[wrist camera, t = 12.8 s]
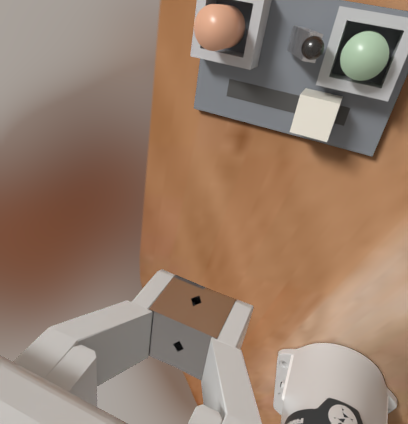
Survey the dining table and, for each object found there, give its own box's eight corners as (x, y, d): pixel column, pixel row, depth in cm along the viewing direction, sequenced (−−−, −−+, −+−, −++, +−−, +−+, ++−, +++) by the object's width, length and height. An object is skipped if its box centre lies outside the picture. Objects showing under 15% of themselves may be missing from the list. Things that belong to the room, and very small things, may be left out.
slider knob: (330, 132, 40) (327, 142, 37) (295, 123, 41) (289, 132, 38) (342, 96, 38) (340, 103, 35) (305, 88, 39) (300, 94, 36)
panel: (372, 153, 41) (372, 165, 38) (196, 106, 47) (183, 113, 43) (431, 15, 34) (437, 15, 30) (214, -21, 39) (199, -24, 36)
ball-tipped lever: (301, 52, 38) (322, 65, 32) (283, 49, 38) (301, 62, 32) (308, 27, 37) (331, 36, 31) (289, 24, 37) (309, 32, 31)
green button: (377, 78, 36) (378, 85, 33) (337, 70, 37) (334, 75, 34) (394, 34, 34) (397, 36, 31) (351, 26, 35) (349, 28, 32)
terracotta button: (241, 51, 38) (228, 54, 35) (206, 43, 39) (191, 46, 36) (249, 8, 36) (236, 8, 33) (212, 1, 37) (196, 0, 34)
